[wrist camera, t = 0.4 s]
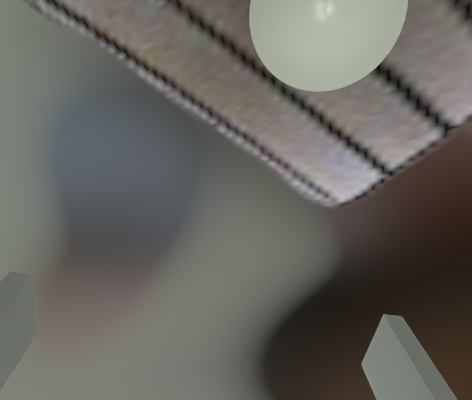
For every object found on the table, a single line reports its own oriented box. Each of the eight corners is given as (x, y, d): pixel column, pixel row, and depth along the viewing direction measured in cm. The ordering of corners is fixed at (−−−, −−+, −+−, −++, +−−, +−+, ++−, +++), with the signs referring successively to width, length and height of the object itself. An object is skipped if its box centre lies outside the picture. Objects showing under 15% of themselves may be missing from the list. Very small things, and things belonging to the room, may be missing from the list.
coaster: (233, -51, 28) (232, -50, 27) (410, -107, 24) (412, -107, 24) (266, 100, 36) (265, 102, 35) (403, 74, 32) (405, 76, 32)
